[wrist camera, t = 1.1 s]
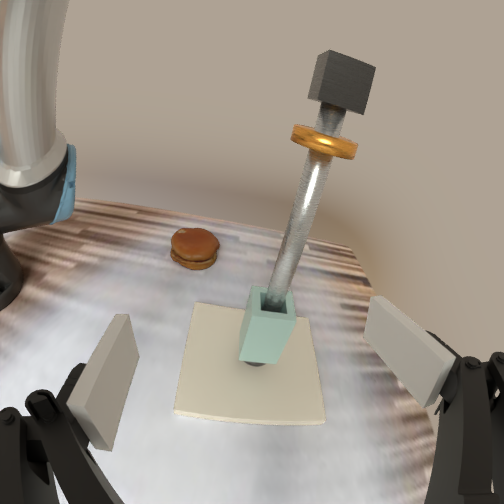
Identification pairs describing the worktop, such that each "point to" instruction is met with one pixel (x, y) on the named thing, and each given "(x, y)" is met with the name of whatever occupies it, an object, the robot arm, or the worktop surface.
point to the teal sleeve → (265, 328)
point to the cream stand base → (246, 375)
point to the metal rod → (319, 158)
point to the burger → (194, 248)
